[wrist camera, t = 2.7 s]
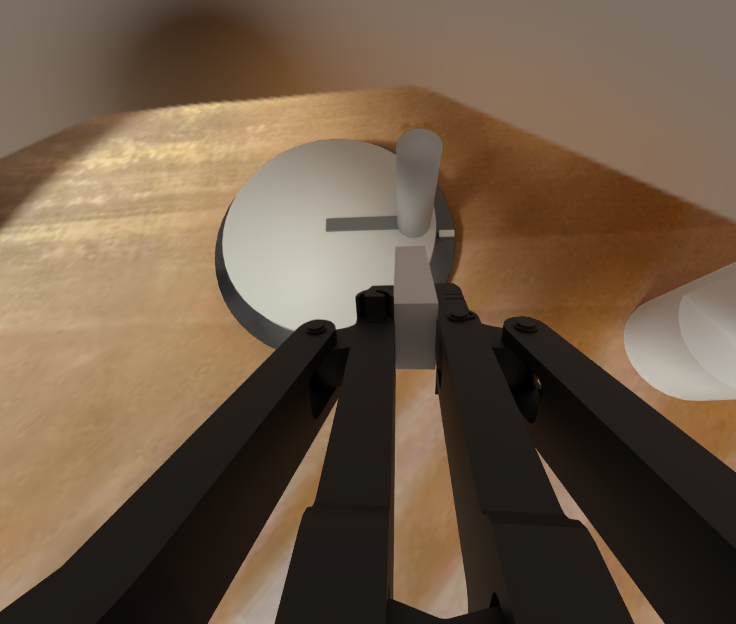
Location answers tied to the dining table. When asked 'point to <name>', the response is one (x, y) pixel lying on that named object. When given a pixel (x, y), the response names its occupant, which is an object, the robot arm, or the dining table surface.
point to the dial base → (277, 334)
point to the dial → (330, 225)
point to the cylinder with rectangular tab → (688, 338)
